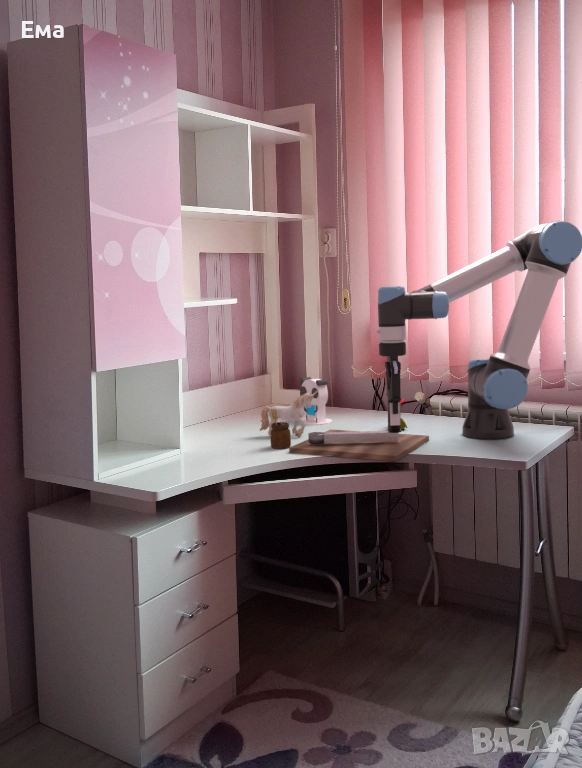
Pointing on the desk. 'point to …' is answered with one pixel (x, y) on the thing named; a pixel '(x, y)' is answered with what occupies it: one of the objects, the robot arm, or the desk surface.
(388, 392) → the lever
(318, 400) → the panda figurine
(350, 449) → the walnut board
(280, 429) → the utensil holder
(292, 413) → the unicorn figurine
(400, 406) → the bird rattle
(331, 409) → the desk surface
